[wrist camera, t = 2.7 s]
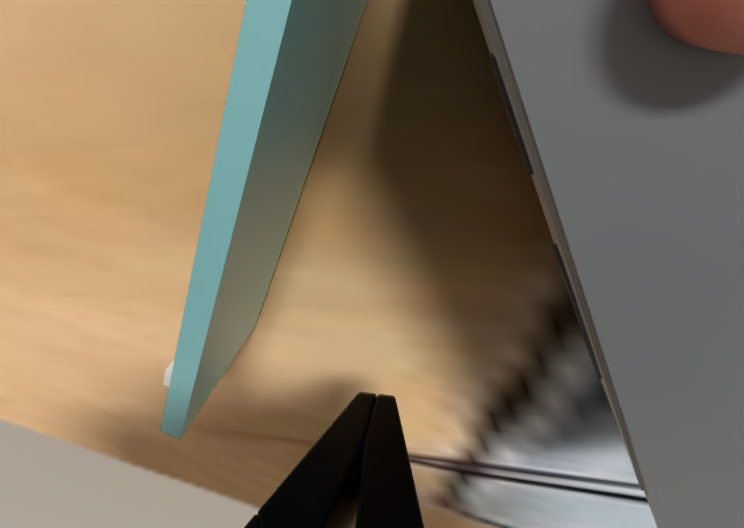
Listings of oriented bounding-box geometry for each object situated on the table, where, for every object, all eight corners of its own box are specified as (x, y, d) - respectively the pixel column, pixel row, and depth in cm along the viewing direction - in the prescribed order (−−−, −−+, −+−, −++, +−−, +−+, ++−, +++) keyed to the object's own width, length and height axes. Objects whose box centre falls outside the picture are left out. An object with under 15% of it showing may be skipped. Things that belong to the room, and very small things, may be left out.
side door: (350, -158, 7) (228, -336, 3) (419, -122, 7) (372, -259, 3) (223, 308, 13) (131, 423, 10) (260, 325, 13) (183, 445, 10)
